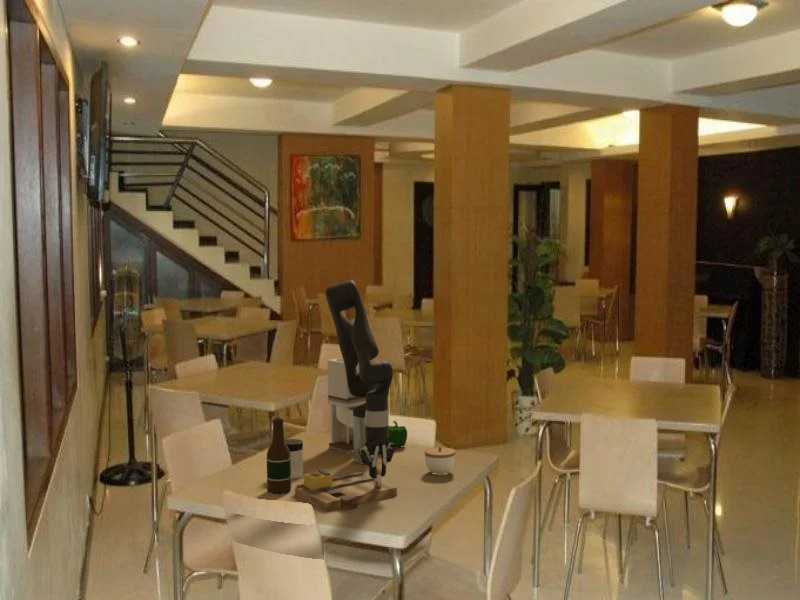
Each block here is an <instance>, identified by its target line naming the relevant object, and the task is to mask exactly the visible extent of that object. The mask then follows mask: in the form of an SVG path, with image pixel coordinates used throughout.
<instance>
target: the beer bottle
mask: <svg viewBox="0 0 800 600" xmlns="http://www.w3.org/2000/svg"><path fill="white" fill-rule="evenodd" d="M271 422H272V437H271V438H272V440H271V444H270V446H268V450H267V452H266V487H267V492H268V493H270V494H272V495H284V494H285V495H286V494H289V492H291V490H292V479H291V456H290V450H289V448H288V446H287V445H286V443H285V440H286V439H285V433H284V422H285V421H284V418H281V417H275V418H273V419H272V421H271Z"/></svg>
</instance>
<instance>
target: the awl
mask: <svg viewBox="0 0 800 600" xmlns="http://www.w3.org/2000/svg"><path fill="white" fill-rule="evenodd" d="M375 467H376V478H374V488H375V489H380V488H382V483H381V481H382V476H381V473H382V457H381V456H377V460H376V463H375Z"/></svg>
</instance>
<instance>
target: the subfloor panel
mask: <svg viewBox="0 0 800 600" xmlns="http://www.w3.org/2000/svg"><path fill="white" fill-rule="evenodd" d="M381 483H382V488H380V489H375V488H374V479H373V478H371V477H370V476H369V475H366V474H365V473H364V472H363V471H360V472H354V473H351V474H345V475H340V476H334V477H333V485H332V486H328V487H323V488H318V489H313V490H311V489H309V488H306V487H304V483H299V484H296V487H294V495H295V496H296V497H298V498H300V499H302V500H304V501H306V502H308V503H310V504H312V505H314V506H316V507H318V508H320V509H322V510H324V511H326V512H329V511H332V510H338V509H343V510H345V511H348V510H354V509H358V505H359V504H364V503H368V502H373V501H377V500H381V499H387V498H390V497H391V498H392V497H394V496H398V487H397V486H394V485H391V484H389V483H386V482H384V481H382V480H381Z"/></svg>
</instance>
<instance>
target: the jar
mask: <svg viewBox="0 0 800 600" xmlns="http://www.w3.org/2000/svg"><path fill="white" fill-rule="evenodd" d="M284 440H285V443H286V445H287V446H288V448H289V450H290V456H291V480H294V479H297V478H302V477H304V450H303V449H304V448H303V447H304V444H303V440H302V439H299V438H288V439H287V438H285V439H284Z"/></svg>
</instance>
